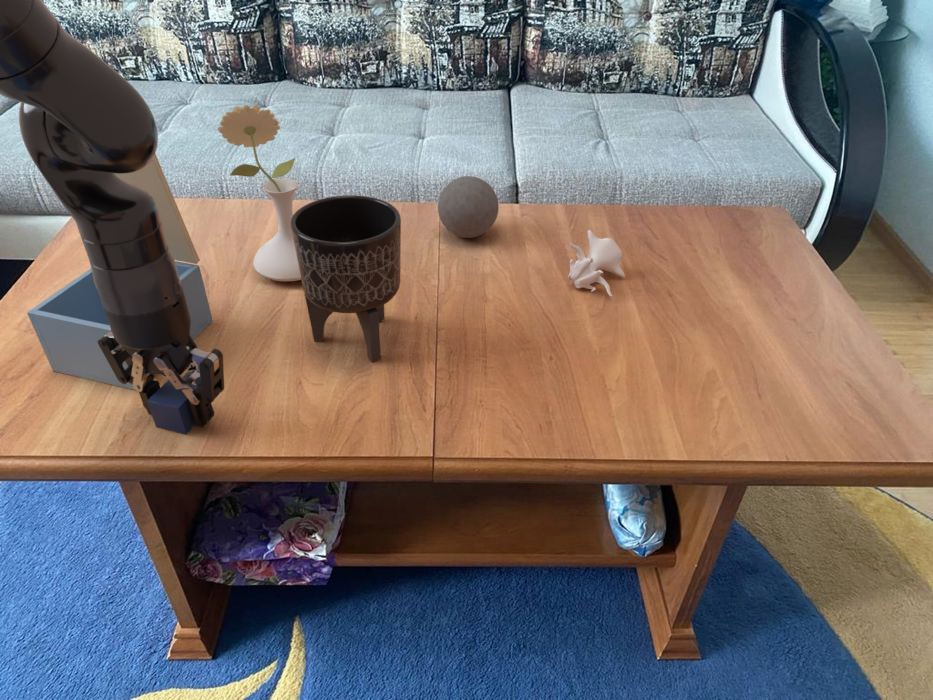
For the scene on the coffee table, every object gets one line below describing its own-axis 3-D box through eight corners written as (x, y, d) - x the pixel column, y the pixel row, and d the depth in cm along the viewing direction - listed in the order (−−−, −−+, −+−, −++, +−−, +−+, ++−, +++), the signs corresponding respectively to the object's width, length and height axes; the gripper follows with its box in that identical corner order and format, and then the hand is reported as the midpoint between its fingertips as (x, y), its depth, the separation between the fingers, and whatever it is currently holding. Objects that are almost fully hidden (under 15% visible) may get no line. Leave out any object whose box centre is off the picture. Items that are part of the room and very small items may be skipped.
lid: (149, 151, 76) (174, 128, 79) (55, 137, 79) (83, 116, 82) (196, 264, 88) (216, 240, 92) (114, 249, 91) (136, 226, 94)
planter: (301, 369, 86) (281, 244, 75) (315, 311, 96) (299, 194, 86) (404, 368, 87) (398, 243, 76) (407, 311, 97) (402, 194, 86)
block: (186, 434, 77) (178, 408, 74) (156, 427, 77) (146, 400, 75) (207, 411, 80) (199, 385, 77) (177, 404, 81) (169, 378, 78)
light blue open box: (139, 391, 82) (118, 332, 77) (52, 370, 85) (26, 312, 80) (213, 320, 94) (199, 265, 89) (135, 305, 97) (116, 250, 92)
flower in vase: (336, 252, 110) (319, 93, 95) (322, 290, 101) (301, 121, 86) (256, 249, 110) (226, 90, 95) (234, 287, 101) (197, 118, 86)
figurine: (638, 268, 106) (630, 284, 97) (600, 295, 110) (588, 313, 101) (599, 217, 105) (587, 229, 97) (561, 246, 109) (546, 260, 100)
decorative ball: (454, 253, 110) (455, 196, 104) (428, 228, 117) (427, 172, 111) (507, 241, 114) (511, 184, 108) (479, 216, 121) (481, 162, 115)
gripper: (53, 298, 67) (105, 425, 77) (181, 325, 64) (218, 453, 74) (106, 262, 72) (148, 384, 83) (226, 284, 69) (254, 408, 80)
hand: (181, 416), depth 78 cm, fingers open, 5 cm apart
